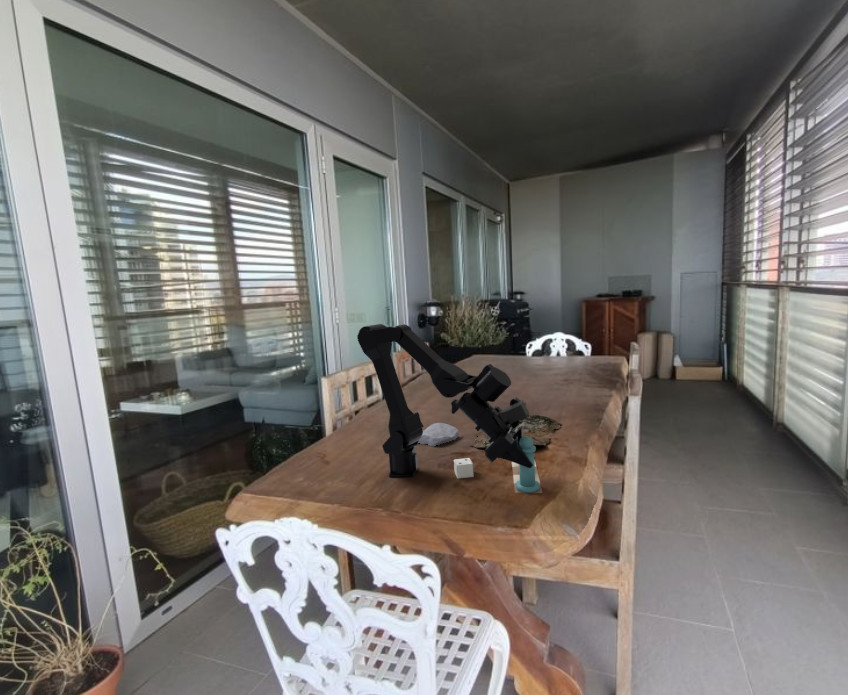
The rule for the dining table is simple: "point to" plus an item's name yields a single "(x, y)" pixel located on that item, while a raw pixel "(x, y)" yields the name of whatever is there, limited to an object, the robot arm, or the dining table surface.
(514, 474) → the board
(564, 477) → the dining table surface
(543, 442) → the terrain model
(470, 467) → the die
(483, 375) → the robot arm
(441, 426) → the stone block
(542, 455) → the dining table surface
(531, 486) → the pawn
